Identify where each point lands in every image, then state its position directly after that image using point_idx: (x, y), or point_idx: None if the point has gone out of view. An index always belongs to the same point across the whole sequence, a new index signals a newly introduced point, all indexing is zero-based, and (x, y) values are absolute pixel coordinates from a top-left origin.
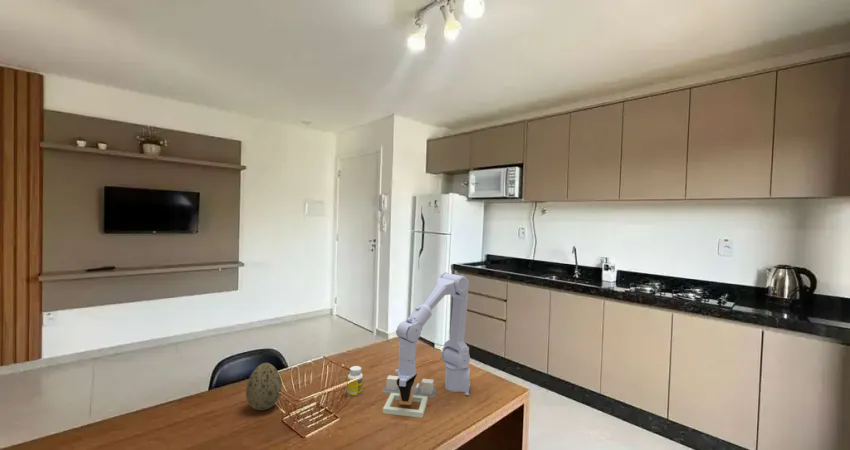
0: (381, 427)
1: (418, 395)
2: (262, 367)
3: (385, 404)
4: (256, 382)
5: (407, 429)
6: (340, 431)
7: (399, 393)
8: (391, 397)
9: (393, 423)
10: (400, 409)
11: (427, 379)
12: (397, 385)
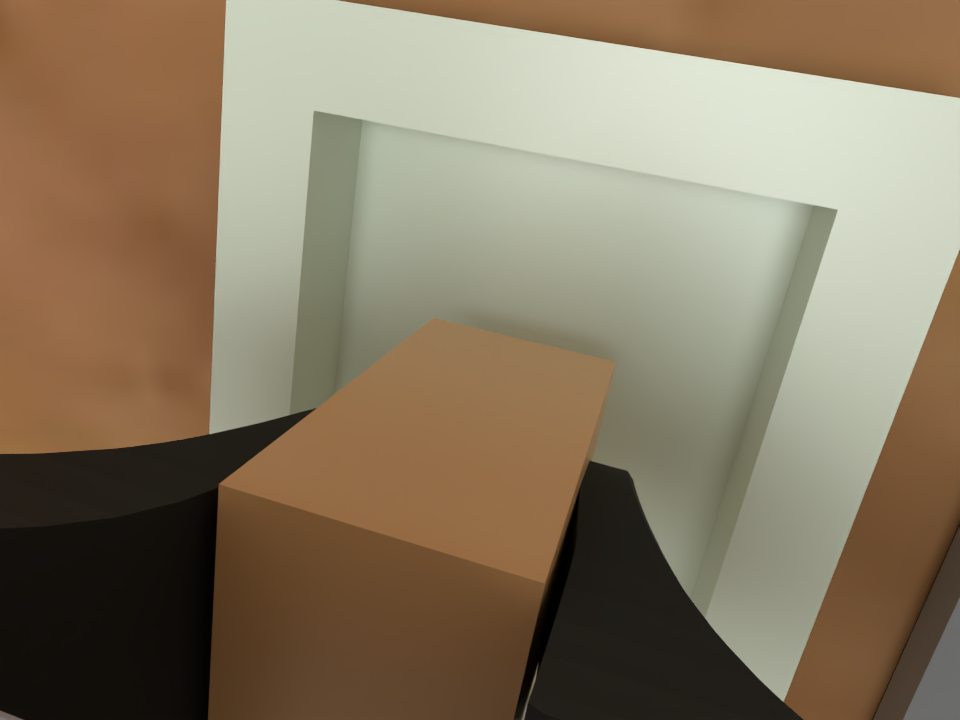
0: (28, 30)
1: (956, 685)
2: None
3: (388, 18)
4: None
5: (64, 392)
6: None
7: (342, 391)
8: (719, 136)
9: (149, 207)
10: (247, 339)
11: None
12: None
